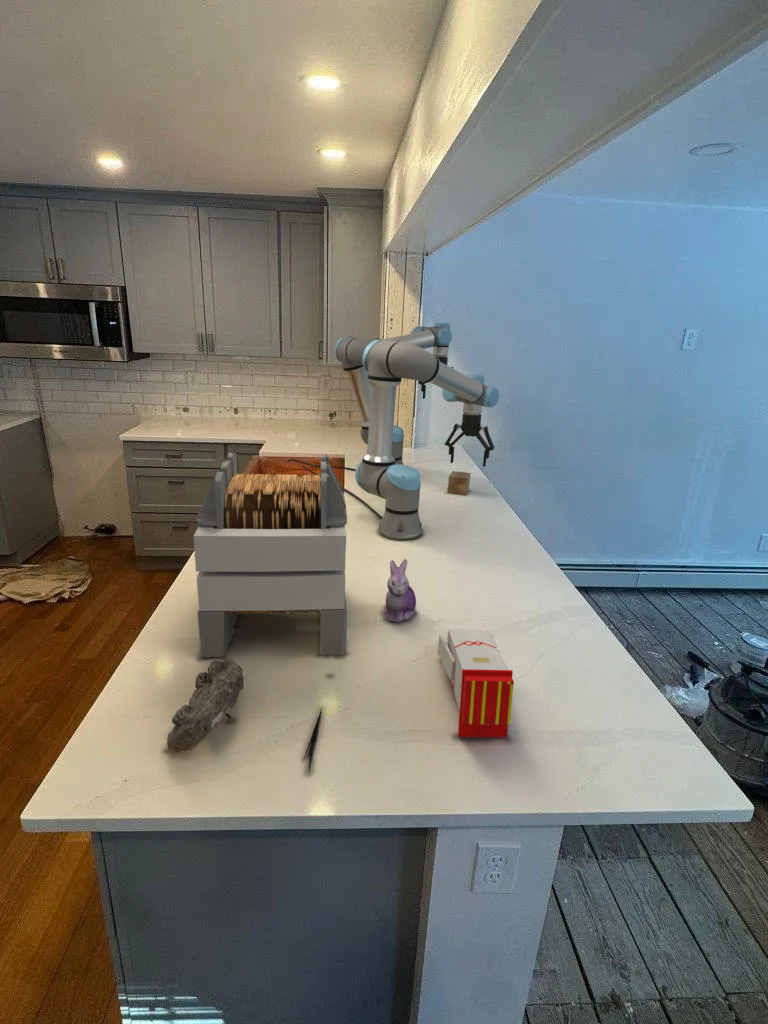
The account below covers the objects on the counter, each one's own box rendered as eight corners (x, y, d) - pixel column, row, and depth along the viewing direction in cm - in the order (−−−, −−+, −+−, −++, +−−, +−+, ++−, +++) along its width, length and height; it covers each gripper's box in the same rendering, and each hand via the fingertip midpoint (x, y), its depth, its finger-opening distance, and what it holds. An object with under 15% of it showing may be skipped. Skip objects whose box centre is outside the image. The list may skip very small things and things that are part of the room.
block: (447, 493, 247) (448, 476, 244) (451, 487, 255) (452, 470, 253) (465, 495, 245) (467, 478, 242) (468, 489, 253) (470, 473, 250)
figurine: (392, 627, 141) (395, 572, 136) (374, 608, 149) (376, 556, 144) (425, 619, 145) (429, 566, 140) (405, 601, 154) (408, 550, 149)
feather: (331, 679, 122) (336, 673, 122) (307, 777, 96) (313, 769, 95) (324, 675, 122) (329, 669, 121) (298, 772, 95) (304, 764, 95)
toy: (488, 613, 130) (523, 677, 101) (484, 667, 133) (517, 744, 104) (435, 612, 130) (455, 676, 101) (432, 666, 133) (451, 743, 103)
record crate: (222, 587, 156) (213, 443, 143) (341, 586, 160) (343, 445, 146) (198, 659, 125) (184, 483, 111) (346, 655, 129) (350, 484, 115)
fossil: (192, 660, 117) (244, 628, 112) (224, 691, 120) (276, 661, 115) (142, 746, 98) (202, 712, 93) (182, 779, 101) (242, 748, 96)
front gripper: (439, 412, 229) (436, 463, 237) (502, 417, 222) (496, 469, 230) (443, 409, 236) (440, 458, 243) (504, 414, 229) (499, 465, 236)
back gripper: (413, 354, 277) (411, 398, 284) (464, 358, 271) (460, 402, 278) (417, 353, 284) (414, 396, 291) (466, 357, 278) (462, 400, 285)
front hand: (467, 464), depth 237 cm, fingers open, 13 cm apart
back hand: (437, 399), depth 285 cm, fingers open, 13 cm apart
